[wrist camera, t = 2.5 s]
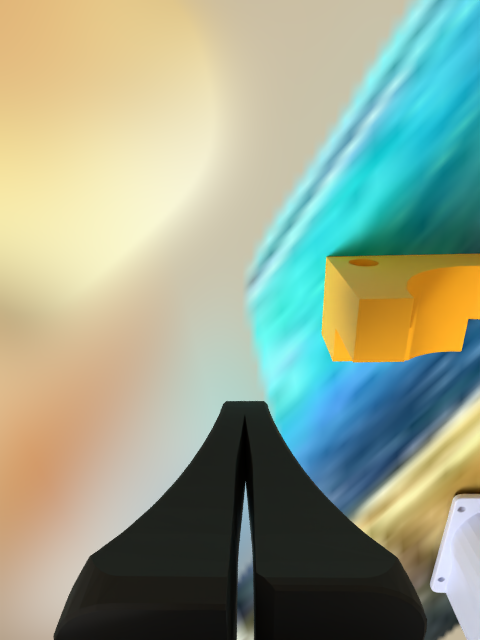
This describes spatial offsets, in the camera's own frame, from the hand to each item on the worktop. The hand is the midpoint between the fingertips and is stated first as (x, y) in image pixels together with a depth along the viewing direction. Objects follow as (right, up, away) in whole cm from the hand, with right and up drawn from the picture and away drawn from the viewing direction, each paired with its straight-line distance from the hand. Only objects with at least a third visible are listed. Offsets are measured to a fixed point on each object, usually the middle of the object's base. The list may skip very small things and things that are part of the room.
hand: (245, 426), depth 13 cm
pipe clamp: (+10, +5, +8) cm, 14 cm away
